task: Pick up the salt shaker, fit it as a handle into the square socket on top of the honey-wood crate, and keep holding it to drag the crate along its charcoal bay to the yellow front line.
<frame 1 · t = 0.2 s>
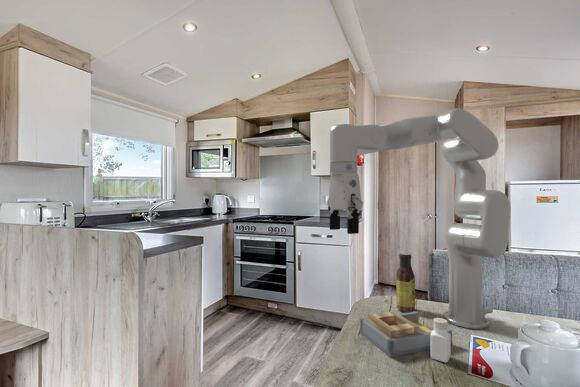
hand: (343, 231, 84), 31 cm above the table, tool pointing down, fingers open, 9 cm apart
crate: (392, 328, 85), point 3 cm above the table, slide at 0.0 cm
sauce bottle: (405, 310, 108), on the table
bay: (404, 338, 86), on the table
salt shaker: (440, 358, 76), on the table
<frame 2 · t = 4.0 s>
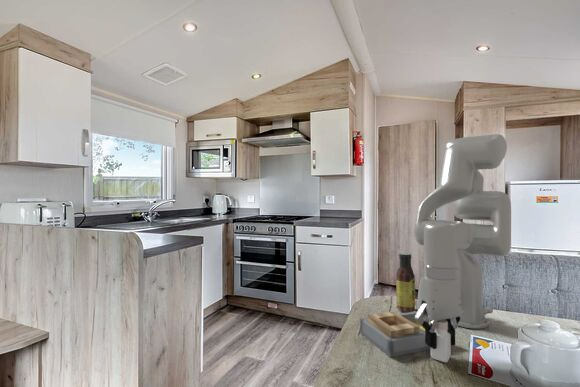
hand: (440, 343, 76), 3 cm above the table, tool pointing down, fingers closed on salt shaker, 5 cm apart
salt shaker: (440, 358, 76), on the table, touching gripper
everything else where it was.
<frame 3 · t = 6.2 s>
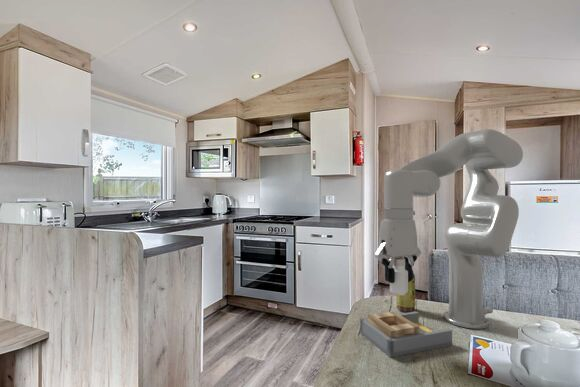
hand: (398, 280, 83), 17 cm above the table, tool pointing down, fingers closed on salt shaker, 5 cm apart
salt shaker: (399, 293, 83), point 14 cm above the table, touching gripper
everything else where it was.
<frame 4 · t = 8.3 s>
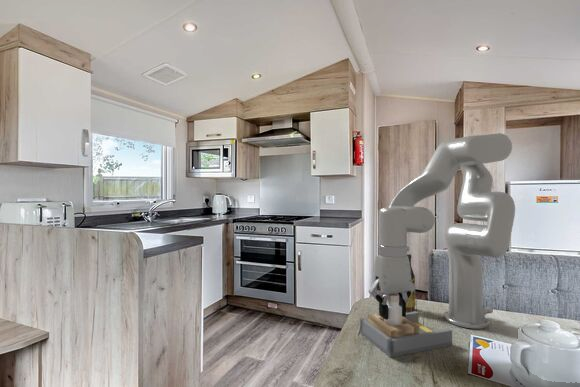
hand: (392, 315, 85), 7 cm above the table, tool pointing down, fingers closed on salt shaker, 5 cm apart
salt shaker: (393, 328, 84), point 3 cm above the table, touching gripper
everything else where it was.
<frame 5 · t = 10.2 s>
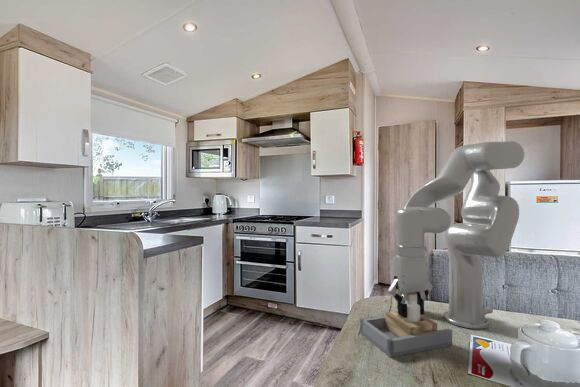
hand: (410, 314, 87), 7 cm above the table, tool pointing down, fingers closed on salt shaker, 5 cm apart
crate: (410, 325, 86), point 3 cm above the table, slide at 6.0 cm, touching salt shaker
salt shaker: (411, 327, 86), point 3 cm above the table, touching crate, gripper
everything else where it was.
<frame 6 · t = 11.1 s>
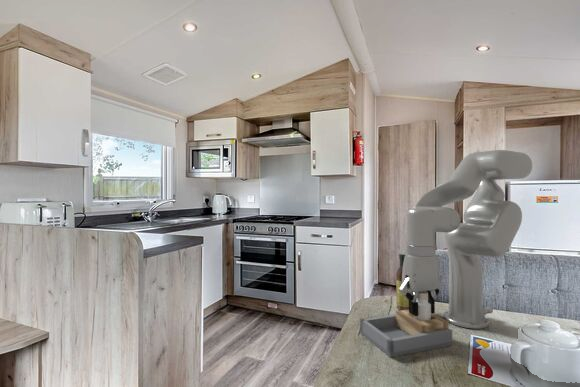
hand: (421, 312, 88), 7 cm above the table, tool pointing down, fingers closed on salt shaker, 5 cm apart
crate: (421, 323, 88), point 3 cm above the table, slide at 9.9 cm, touching salt shaker
salt shaker: (422, 325, 88), point 3 cm above the table, touching crate, gripper
everything else where it was.
when the fingers open (7 cm above the table, at t = 12.4 s): salt shaker stays where it is, resting on crate.
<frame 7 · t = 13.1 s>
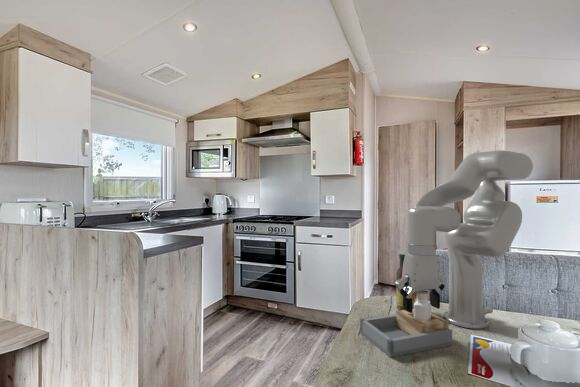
hand: (421, 308, 88), 8 cm above the table, tool pointing down, fingers open, 9 cm apart
salt shaker: (422, 325, 88), point 3 cm above the table, touching crate
everything else where it was.
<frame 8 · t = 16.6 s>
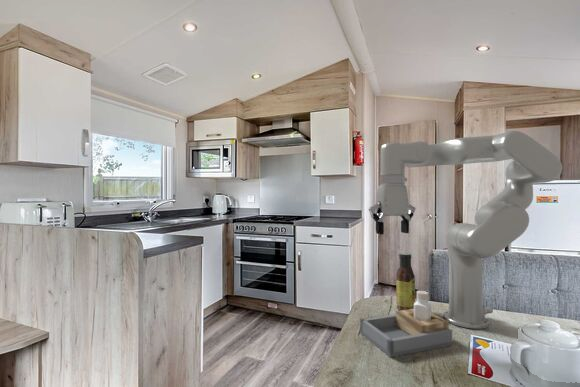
hand: (392, 233, 99), 28 cm above the table, tool pointing down, fingers open, 9 cm apart
nothing on the table moved.
at the end: crate slide at 9.9 cm; salt shaker 0.6 cm from the target spot, point 3.0 cm above the table; salt shaker tilted 0° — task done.
